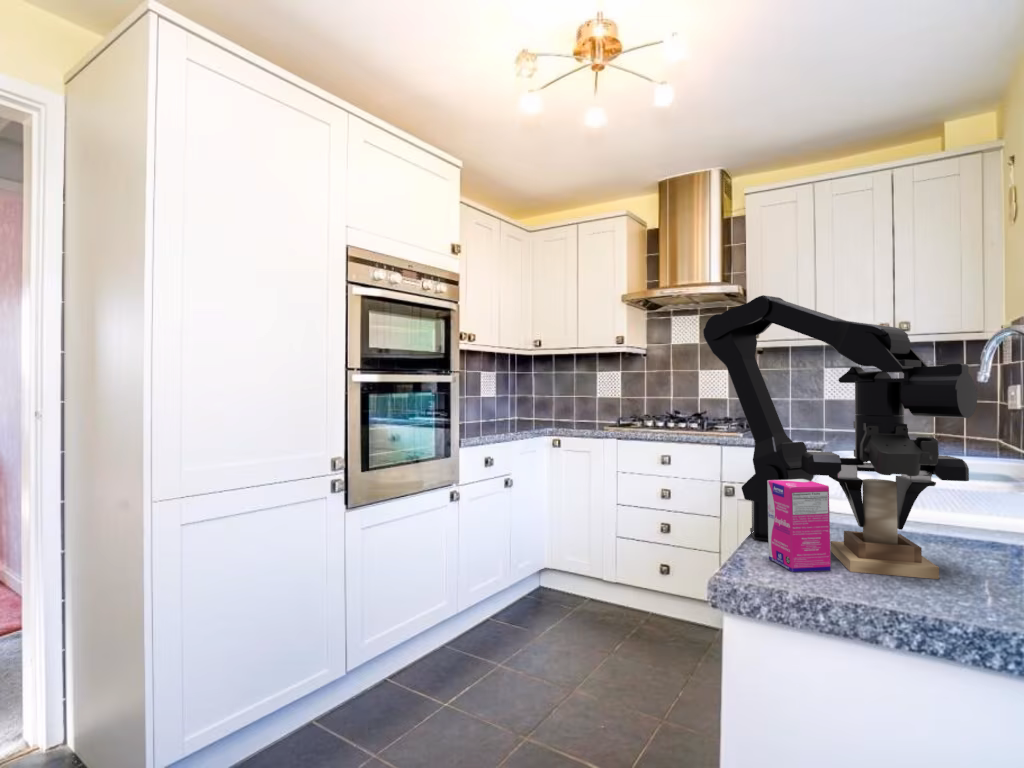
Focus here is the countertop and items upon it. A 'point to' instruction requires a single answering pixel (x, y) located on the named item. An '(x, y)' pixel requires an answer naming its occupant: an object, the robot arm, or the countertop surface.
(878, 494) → the stool leg
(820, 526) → the supplement box
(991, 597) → the countertop surface
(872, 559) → the seat board
